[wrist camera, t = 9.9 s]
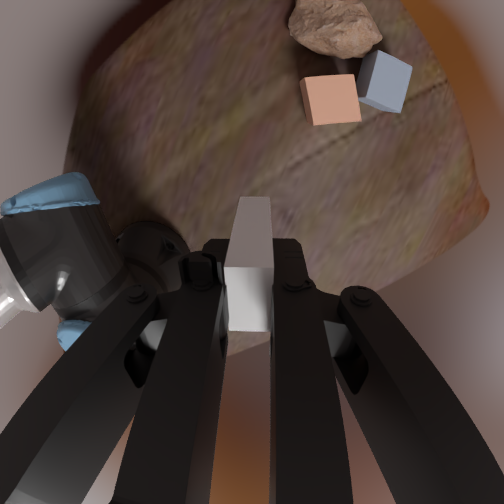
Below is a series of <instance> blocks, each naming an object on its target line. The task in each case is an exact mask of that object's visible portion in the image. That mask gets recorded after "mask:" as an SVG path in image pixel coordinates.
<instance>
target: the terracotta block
mask: <svg viewBox="0 0 504 504" xmlns="http://www.w3.org/2000/svg"><path fill="white" fill-rule="evenodd" d="M299 83H300V88H301V93H302V98H303V103H304V109H305V114H306V119H307V123H309V124H312V125H322V124H331V123H342V122H355V121H361V115H360V108H359V102H358V95H357V90H356V84H355V79H354V74H345V75H328V76H315V77H305V78H303V79H302V80H301V81H300V82H299Z"/></svg>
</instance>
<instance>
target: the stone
mask: <svg viewBox="0 0 504 504" xmlns="http://www.w3.org/2000/svg"><path fill="white" fill-rule="evenodd" d="M295 3H296V7H295V9H294V11H293V12H292V14H291V16H290V18H289V24H288V27H289V30H290V35H291V36H293V37H294V39H295V40H296V41H297V42H299V43H300V44H302V45H304V46H305V47H307V48H309V49H311V50H312V51H314V52H316V53H318V54H323V55H327V56H335V57H339V58H342V59H345V58H352V57H356V58H363V57H365V56H366V54H367V53H368V52H369V51H370V50H371V49H372V46H373V45H374V44H377V43H378V42H379V41H381V40H382V35H381V33H380V32H379V30H378V28H377V26H376V24H375V22H374V21H373V18H372V16H371V15H370V13H369V12H368V11H367V9H366V7H365V5H364V4H363V3H362V2H361V1H359V0H296V2H295Z"/></svg>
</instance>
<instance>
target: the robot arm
mask: <svg viewBox="0 0 504 504" xmlns="http://www.w3.org/2000/svg"><path fill="white" fill-rule="evenodd" d="M99 204H100V201H99V200H98V199H97V198H96V196H95V194H94V191H93V189H92V187H91V185H90V183H89V181H88V179H87V177H86V176H85V175H84V174H82V173H79V172H70V173H67V174H63V175H60V176H57V177H54V178H52V179H49V180H46V181H44V182H41V183H39V184H37V185H34V186H32V187H30V188H28V189H26V190H24V191H22V192H20V193H18V194H17V195H14V196H13V197H12V198H9V199H7V200H5V201H4V202H3V203H2V204H1V207H0V208H1V212H0V213H1V215H3V217H2V218H1V219H0V329H1V328H2V327H3V326H4V325H5V324H6V323H7V322H9V321H10V320H11V319H12V318H13V317H14V316H16V315H17V314H18V313H19V312H20V311H22V310H27V311H32V312H36V313H39V312H41V311H42V310H43V309H45V308H46V307H47V306H48V305H50V304H51V305H52V306H53V308H54V309H55V311H56V312H57V313H58V315H59V317H60V318H61V320H62V322H60V324H59V325H58V330H57V337H58V341H59V343H60V345H61V346H62V348H63V349H64V350H65V351H66V352H65V353H64V354H63V355H62V356H61V358H60V359H59V360H58V361H57V362H56V363H55V365H54V366H53V367H52V368H51V369H50V371H49V372H48V373H47V374H46V375H45V377H44V378H43V379H42V380H41V381H40V383H39V384H38V385H37V386H36V388H35V389H34V390H33V391H32V393H31V394H30V395H29V396H28V398H27V399H26V400H25V402H24V403H23V404H22V405H21V407H20V408H19V409H18V411H17V412H16V414H15V415H14V416H13V417H12V419H11V420H10V422H9V423H8V424H7V426H6V427H5V429H4V430H3V431H2V433H1V434H0V504H81V503H82V502H83V500H84V498H85V496H86V495H87V493H88V491H89V490H90V488H91V486H92V485H93V483H94V481H95V480H96V477H97V476H98V474H99V473H100V471H101V469H102V468H103V466H104V464H105V463H106V461H107V460H108V458H109V456H110V455H111V453H112V451H113V450H114V448H115V446H116V445H117V443H118V441H119V440H120V438H121V436H122V435H123V433H124V431H125V429H126V428H127V427H128V425H129V423H130V422H131V420H132V418H133V417H134V415H135V417H134V420H133V423H132V427H131V430H130V434H129V437H128V440H127V444H126V448H125V452H124V455H123V458H122V462H121V466H120V470H119V474H118V478H117V482H116V486H115V490H114V494H113V497H112V500H111V501H110V503H109V504H209V498H210V489H211V480H212V471H213V461H214V453H215V444H216V435H217V428H218V419H219V410H220V403H221V402H220V401H221V394H222V386H223V379H224V371H225V363H226V355H227V347H228V335H227V330H228V323H229V331H270V332H271V337H270V399H271V400H270V485H269V486H270V487H269V504H353V495H352V486H351V476H350V468H349V460H348V452H347V446H346V438H345V431H344V425H343V418H342V413H341V406H340V400H339V395H338V389H337V384H336V378H337V380H338V382H339V384H340V386H341V388H342V391H343V392H344V395H345V397H346V398H347V401H348V403H349V405H350V407H351V409H352V411H353V413H354V415H355V417H356V419H357V421H358V423H359V425H360V427H361V429H362V431H363V434H364V436H365V438H366V440H367V442H368V444H369V446H370V448H371V450H372V452H373V455H374V457H375V459H376V461H377V463H378V465H379V467H380V469H381V472H382V474H383V476H384V478H385V480H386V482H387V484H388V487H389V489H390V491H391V493H392V495H393V498H394V500H395V502H396V504H504V475H503V473H502V471H501V469H500V467H499V465H498V463H497V461H496V460H495V458H494V456H493V454H492V452H491V451H490V449H489V447H488V446H487V444H486V442H485V441H484V439H483V437H482V436H481V434H480V432H479V431H478V429H477V427H476V426H475V424H474V423H473V421H472V419H471V418H470V416H469V415H468V413H467V412H466V410H465V409H464V407H463V406H462V404H461V403H460V401H459V400H458V398H457V397H456V395H455V394H454V392H453V391H452V389H451V388H450V386H449V385H448V384H447V382H446V381H445V380H444V378H443V377H442V375H441V374H440V372H439V371H438V370H437V368H436V367H435V366H434V364H433V363H432V361H431V360H430V359H429V358H428V356H427V355H426V353H425V352H424V351H423V350H422V348H421V347H420V346H419V344H418V343H417V342H416V340H415V339H414V338H413V337H412V335H411V334H410V333H409V332H408V330H407V329H406V328H405V326H404V325H403V324H402V323H401V322H400V320H399V319H398V318H397V317H396V315H395V314H394V313H393V312H392V310H391V309H390V308H389V307H388V306H387V304H386V303H385V302H384V301H383V300H382V299H381V297H380V296H379V295H378V294H377V293H376V292H375V291H373V290H371V289H369V288H367V287H363V286H350V287H347V288H345V289H344V290H343V291H342V292H341V295H340V296H338V295H333V294H329V293H325V292H322V291H320V290H318V289H317V288H316V285H315V284H314V282H313V280H311V279H310V278H309V276H308V272H307V268H306V263H305V259H304V255H303V251H302V247H301V244H300V243H299V242H298V241H297V240H296V239H279V238H272V225H271V209H270V197H240V200H239V204H238V208H237V212H236V217H235V221H234V225H233V229H232V234H231V238H230V239H210V240H209V241H208V242H207V243H206V244H204V246H203V249H202V251H195V252H191V253H190V251H189V249H188V247H187V245H186V244H185V242H184V241H183V240H182V239H181V238H180V236H178V235H177V234H176V233H175V232H174V231H172V230H171V229H169V228H168V227H166V226H164V225H162V224H159V223H155V222H150V221H141V222H136V223H133V224H131V225H129V226H127V227H126V228H125V229H124V230H123V231H122V232H121V233H120V234H119V235H118V236H117V238H116V239H115V238H114V236H113V234H112V232H111V229H110V227H109V225H108V223H107V221H106V218H105V216H104V214H103V212H102V209H101V207H100V205H99ZM335 376H336V378H335Z"/></svg>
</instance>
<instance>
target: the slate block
mask: <svg viewBox="0 0 504 504" xmlns="http://www.w3.org/2000/svg"><path fill="white" fill-rule="evenodd" d="M411 72H412V66H410V65H408V64H406V63H404V62H402V61H400V60H398V59H396V58H395V57H393V56H391V55H388V54H386V53H384V52H382V51H380V50H377V51H375V52H372V53H370V54H368V55H366V56H365V57H363V60H362V64H361V68H360V71H359V75H358V79H357V82H356V90H357V95H358V101H361V102H363V103H366V104H368V105H370V106H373V107H375V108H377V109H380V110H382V111H387V112H395V113H401V109H402V106H403V102H404V99H405V95H406V91H407V88H408V84H409V80H410V76H411Z"/></svg>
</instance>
